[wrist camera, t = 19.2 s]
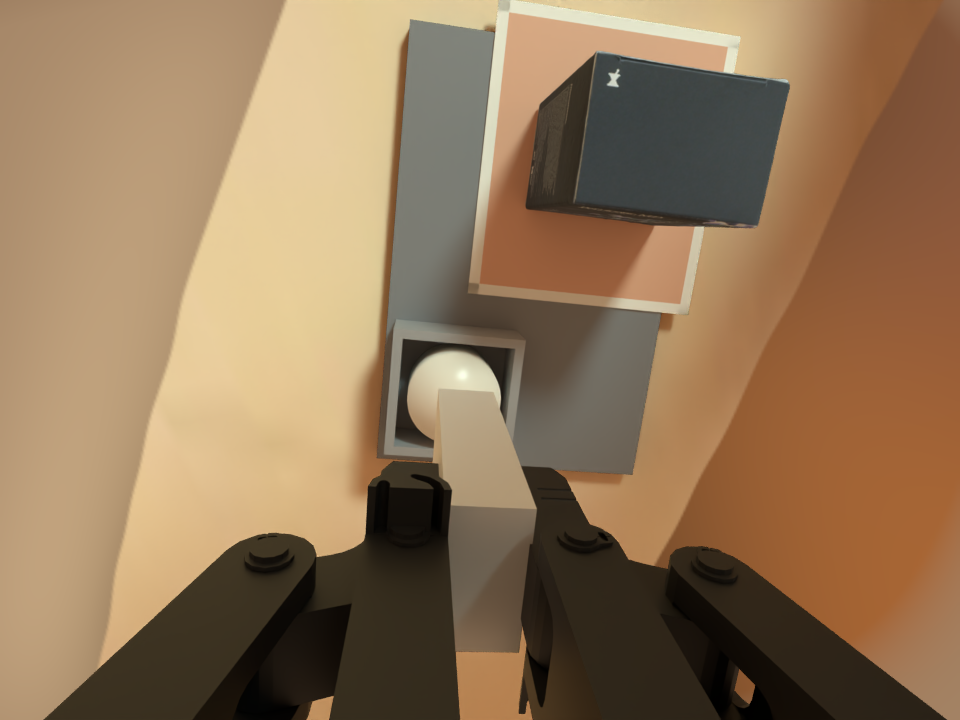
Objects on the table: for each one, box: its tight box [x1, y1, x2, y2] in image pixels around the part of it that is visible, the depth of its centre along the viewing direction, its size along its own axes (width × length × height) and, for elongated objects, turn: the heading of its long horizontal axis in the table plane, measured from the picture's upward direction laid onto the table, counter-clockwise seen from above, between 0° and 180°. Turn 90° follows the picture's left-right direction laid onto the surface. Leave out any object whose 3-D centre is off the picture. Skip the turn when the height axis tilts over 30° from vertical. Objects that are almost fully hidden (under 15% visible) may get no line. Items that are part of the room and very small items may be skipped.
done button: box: [407, 343, 501, 440], centre depth 32 cm, size 5×5×3 cm
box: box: [525, 51, 790, 228], centre depth 27 cm, size 8×6×11 cm
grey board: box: [377, 0, 741, 475], centre depth 32 cm, size 18×26×4 cm
